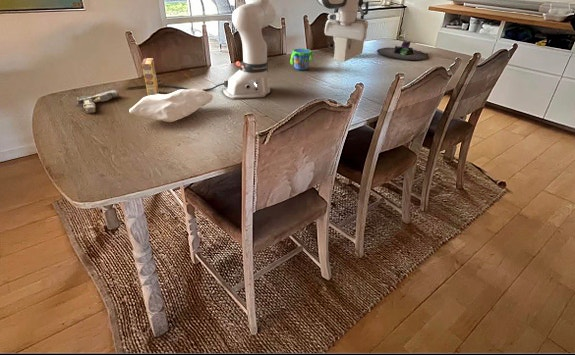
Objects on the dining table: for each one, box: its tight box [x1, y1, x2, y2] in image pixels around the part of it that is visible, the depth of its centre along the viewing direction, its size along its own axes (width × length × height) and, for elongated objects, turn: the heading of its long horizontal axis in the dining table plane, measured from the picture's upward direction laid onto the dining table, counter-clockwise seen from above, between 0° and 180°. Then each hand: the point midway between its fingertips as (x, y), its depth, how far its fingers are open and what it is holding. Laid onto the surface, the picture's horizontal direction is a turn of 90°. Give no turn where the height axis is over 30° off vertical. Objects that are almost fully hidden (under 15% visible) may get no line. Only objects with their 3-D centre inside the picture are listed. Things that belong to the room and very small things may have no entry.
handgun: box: [76, 89, 120, 114], centre depth 155 cm, size 3×18×15 cm
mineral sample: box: [376, 40, 430, 61], centre depth 247 cm, size 35×35×9 cm
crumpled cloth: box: [129, 88, 214, 123], centre depth 147 cm, size 24×35×9 cm
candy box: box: [141, 57, 160, 96], centre depth 163 cm, size 9×4×15 cm, turn 13°
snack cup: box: [289, 48, 314, 71], centre depth 208 cm, size 16×10×10 cm
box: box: [333, 36, 365, 63], centre depth 182 cm, size 22×6×11 cm, turn 148°
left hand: (343, 47), depth 176 cm, fingers closed on box, 6 cm apart
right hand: (352, 22), depth 191 cm, fingers open, 8 cm apart
